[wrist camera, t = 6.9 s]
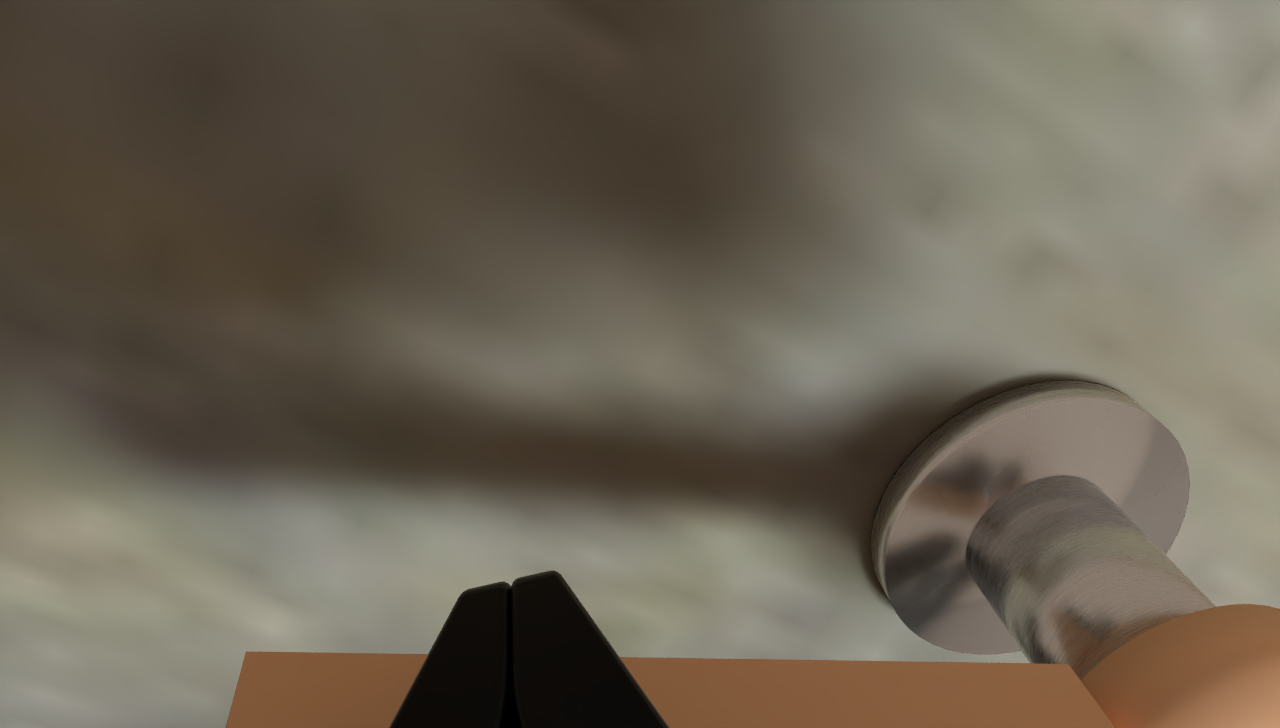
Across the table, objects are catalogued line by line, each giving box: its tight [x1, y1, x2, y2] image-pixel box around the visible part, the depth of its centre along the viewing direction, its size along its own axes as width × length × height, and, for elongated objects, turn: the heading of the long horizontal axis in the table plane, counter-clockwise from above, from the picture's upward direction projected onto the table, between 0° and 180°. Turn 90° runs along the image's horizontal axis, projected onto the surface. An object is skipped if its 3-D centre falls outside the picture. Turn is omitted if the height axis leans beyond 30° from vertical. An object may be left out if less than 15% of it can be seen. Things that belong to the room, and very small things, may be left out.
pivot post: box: [871, 381, 1216, 680], centre depth 14 cm, size 5×5×4 cm
